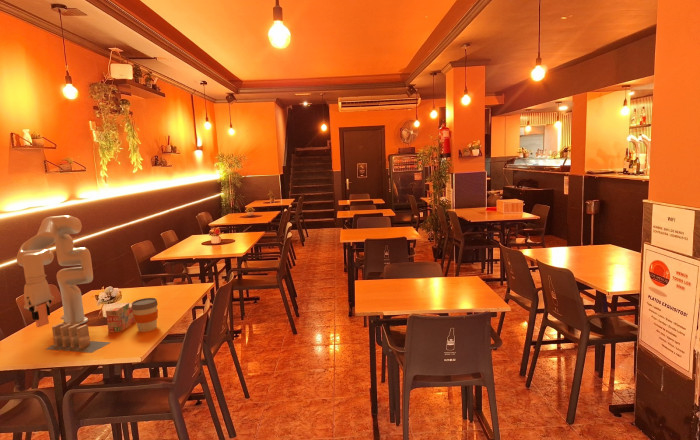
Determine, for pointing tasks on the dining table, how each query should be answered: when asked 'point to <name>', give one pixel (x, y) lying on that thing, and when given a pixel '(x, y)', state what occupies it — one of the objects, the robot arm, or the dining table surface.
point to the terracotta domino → (42, 315)
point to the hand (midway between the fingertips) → (41, 317)
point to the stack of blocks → (119, 317)
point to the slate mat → (90, 348)
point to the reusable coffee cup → (145, 314)
